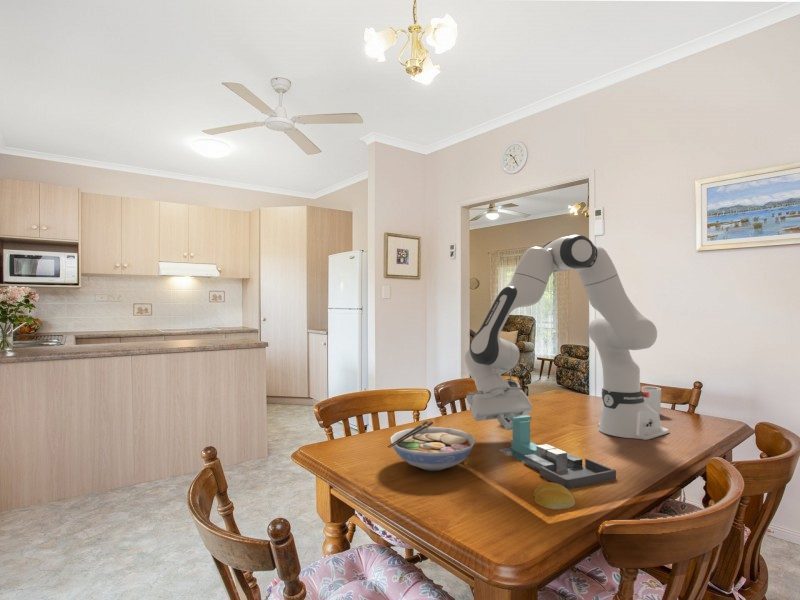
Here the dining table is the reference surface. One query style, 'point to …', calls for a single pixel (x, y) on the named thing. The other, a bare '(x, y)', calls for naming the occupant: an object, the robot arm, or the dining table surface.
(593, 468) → the tray
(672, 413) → the dining table surface
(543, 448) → the beige cube
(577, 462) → the slot board
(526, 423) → the rake tool
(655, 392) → the drinking glass
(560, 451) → the chip
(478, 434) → the dining table surface
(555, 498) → the bread roll
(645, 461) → the dining table surface
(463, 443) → the ramen bowl
